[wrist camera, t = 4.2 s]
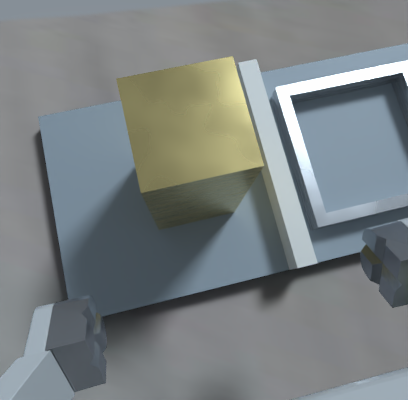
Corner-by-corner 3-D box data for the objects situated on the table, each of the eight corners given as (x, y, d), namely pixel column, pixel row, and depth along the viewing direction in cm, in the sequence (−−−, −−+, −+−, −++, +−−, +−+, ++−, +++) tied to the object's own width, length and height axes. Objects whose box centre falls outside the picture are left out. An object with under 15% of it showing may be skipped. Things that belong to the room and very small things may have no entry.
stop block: (158, 230, 20) (141, 192, 12) (143, 157, 21) (116, 78, 13) (234, 212, 20) (264, 165, 12) (215, 142, 21) (232, 56, 13)
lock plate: (78, 322, 20) (62, 327, 17) (44, 124, 22) (27, 104, 19) (471, 223, 22) (507, 215, 19) (404, 52, 24) (429, 25, 21)
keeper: (310, 230, 20) (318, 227, 19) (270, 98, 22) (275, 87, 21) (445, 198, 21) (460, 192, 20) (397, 72, 22) (408, 60, 21)
